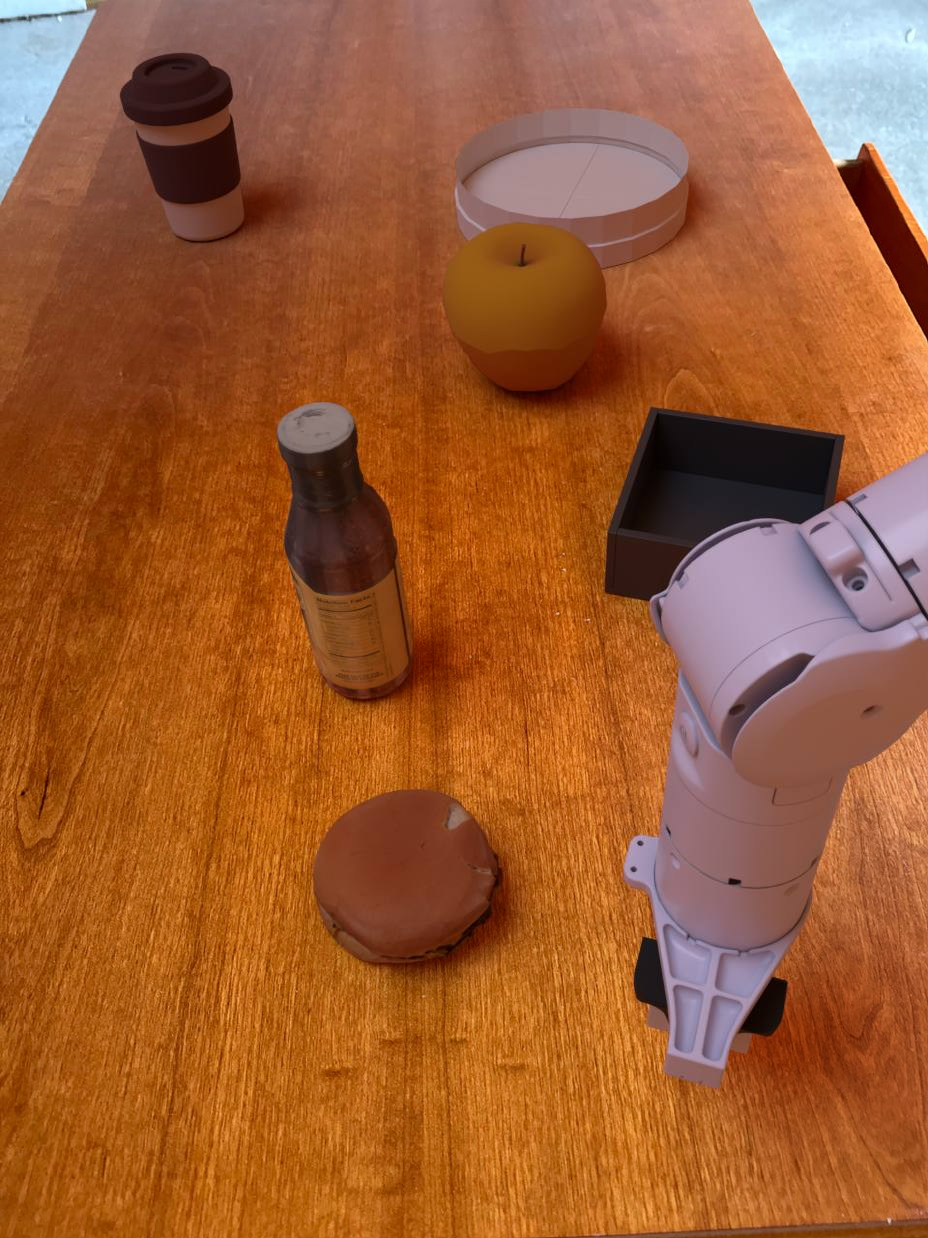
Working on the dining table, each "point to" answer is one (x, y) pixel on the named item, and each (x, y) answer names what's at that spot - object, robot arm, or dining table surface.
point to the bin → (710, 489)
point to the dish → (577, 179)
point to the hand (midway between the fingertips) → (707, 984)
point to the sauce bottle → (343, 556)
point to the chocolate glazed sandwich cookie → (405, 877)
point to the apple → (525, 304)
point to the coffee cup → (188, 142)
